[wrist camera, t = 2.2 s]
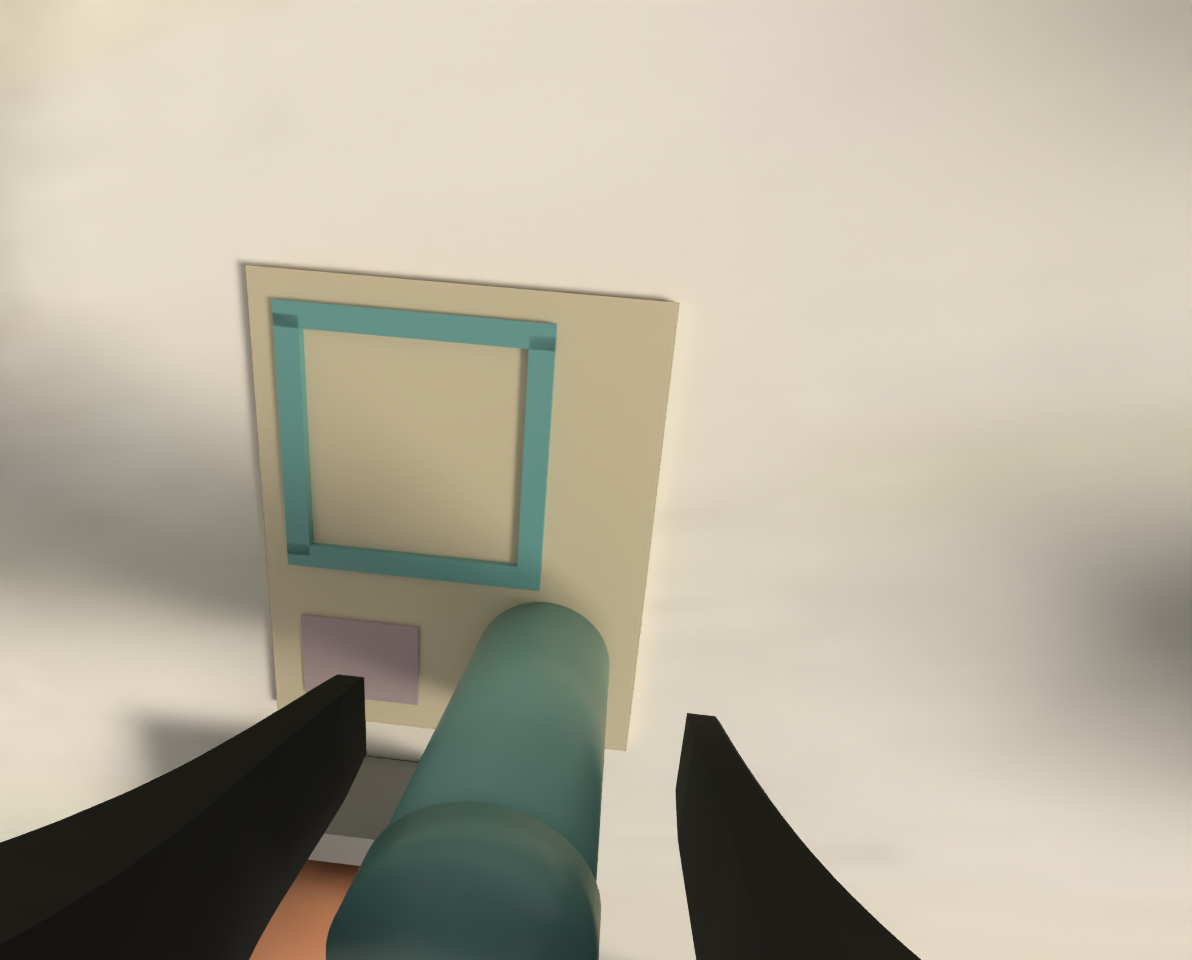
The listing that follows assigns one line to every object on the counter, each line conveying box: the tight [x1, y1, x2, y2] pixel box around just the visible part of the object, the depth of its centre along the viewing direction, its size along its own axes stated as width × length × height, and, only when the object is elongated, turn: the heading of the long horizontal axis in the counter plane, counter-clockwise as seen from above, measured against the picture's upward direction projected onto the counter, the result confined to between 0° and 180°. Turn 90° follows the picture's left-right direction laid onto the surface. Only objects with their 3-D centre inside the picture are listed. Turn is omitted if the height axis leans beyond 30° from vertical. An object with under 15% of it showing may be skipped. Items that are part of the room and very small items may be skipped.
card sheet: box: [245, 265, 679, 751], centre depth 14 cm, size 12×10×1 cm
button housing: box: [308, 756, 418, 866], centre depth 16 cm, size 7×7×3 cm
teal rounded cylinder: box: [326, 602, 610, 960], centre depth 11 cm, size 4×4×8 cm
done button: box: [249, 860, 360, 960], centre depth 15 cm, size 4×4×2 cm
